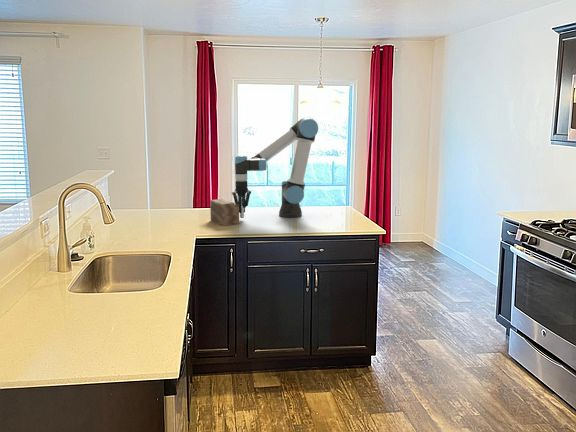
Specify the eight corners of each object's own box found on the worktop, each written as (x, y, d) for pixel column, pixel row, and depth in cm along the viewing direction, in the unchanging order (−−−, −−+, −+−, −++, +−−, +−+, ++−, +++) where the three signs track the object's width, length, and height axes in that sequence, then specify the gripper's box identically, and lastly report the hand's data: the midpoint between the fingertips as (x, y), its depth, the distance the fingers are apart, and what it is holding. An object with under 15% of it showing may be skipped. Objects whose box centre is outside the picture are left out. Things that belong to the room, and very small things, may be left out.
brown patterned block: (226, 219, 372) (226, 198, 370) (239, 223, 357) (239, 202, 355) (210, 220, 366) (210, 200, 364) (223, 225, 351) (222, 204, 349)
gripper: (247, 179, 370) (248, 215, 374) (229, 180, 363) (230, 217, 367) (253, 180, 363) (253, 217, 368) (234, 181, 357) (235, 219, 361)
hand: (242, 217), depth 367 cm, fingers closed
